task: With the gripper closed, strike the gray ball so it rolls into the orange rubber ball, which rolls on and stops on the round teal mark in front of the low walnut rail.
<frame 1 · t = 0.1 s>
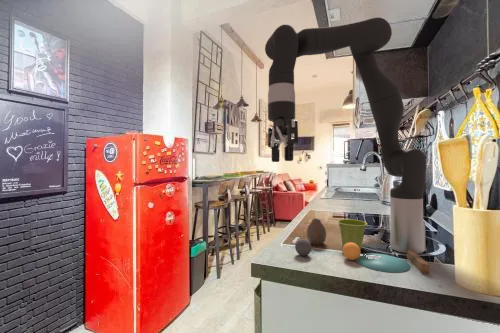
hand: (281, 161, 69), 29 cm above the worktop, tool pointing down, fingers open, 8 cm apart
brown oval solid: (316, 243, 90), on the worktop
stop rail: (416, 265, 69), on the worktop
gray ball: (303, 247, 78), on the worktop
plant pot: (352, 248, 85), on the worktop
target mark: (381, 262, 72), on the worktop
orange ball: (351, 251, 74), on the worktop
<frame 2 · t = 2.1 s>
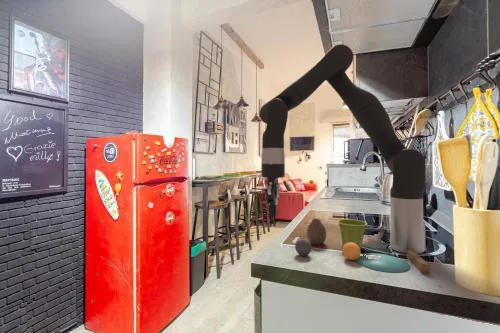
hand: (272, 216, 81), 12 cm above the worktop, tool pointing down, fingers closed
nothing on the worktop moved.
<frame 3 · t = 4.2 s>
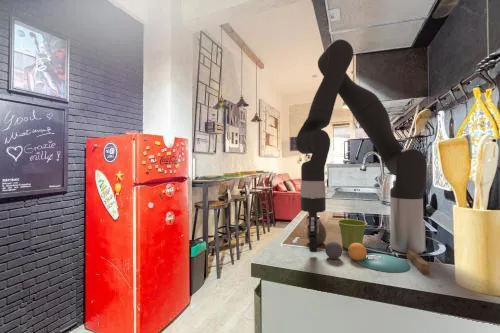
hand: (313, 251, 77), 1 cm above the worktop, tool pointing down, fingers closed
gray ball: (333, 250, 75), on the worktop
orange ball: (357, 251, 74), on the worktop
everything else where it was.
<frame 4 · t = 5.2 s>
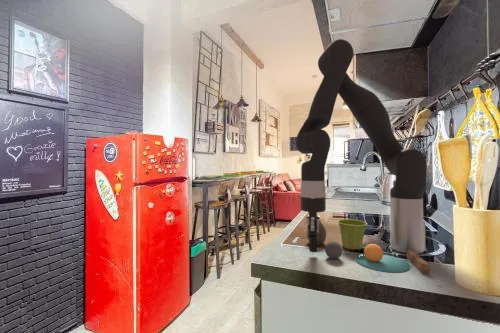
hand: (313, 251, 77), 2 cm above the worktop, tool pointing down, fingers closed
orange ball: (373, 252, 72), on the worktop
everything else where it was.
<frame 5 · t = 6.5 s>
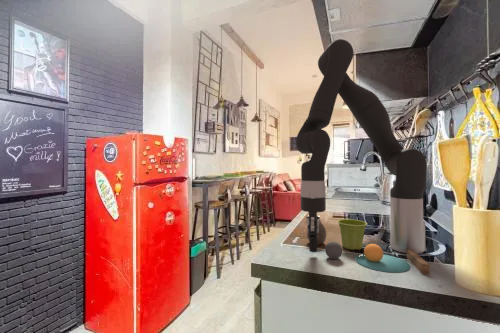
hand: (313, 251, 77), 2 cm above the worktop, tool pointing down, fingers closed
nothing on the worktop moved.
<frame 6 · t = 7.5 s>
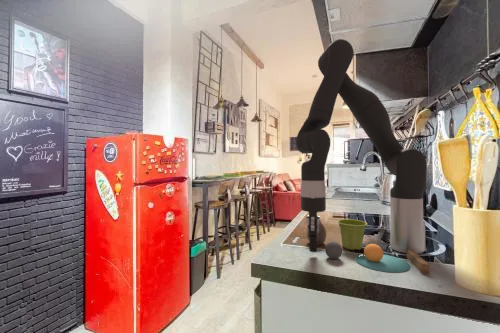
hand: (313, 251, 77), 2 cm above the worktop, tool pointing down, fingers closed
nothing on the worktop moved.
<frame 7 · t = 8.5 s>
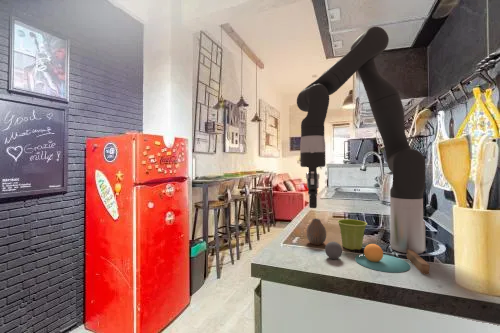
hand: (313, 207, 77), 15 cm above the worktop, tool pointing down, fingers closed
nothing on the worktop moved.
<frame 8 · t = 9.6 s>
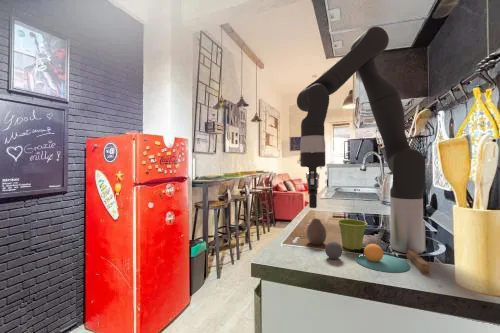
hand: (313, 207, 77), 15 cm above the worktop, tool pointing down, fingers closed
nothing on the worktop moved.
at the end: orange ball 2.0 cm from the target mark (horizontally); orange ball never touched the robot; gray ball first touched orange ball at 4.0 s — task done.
